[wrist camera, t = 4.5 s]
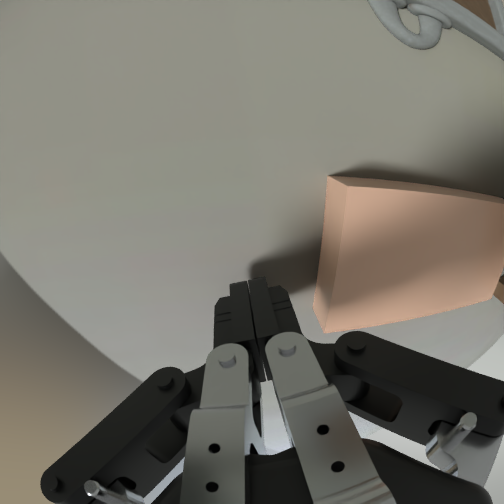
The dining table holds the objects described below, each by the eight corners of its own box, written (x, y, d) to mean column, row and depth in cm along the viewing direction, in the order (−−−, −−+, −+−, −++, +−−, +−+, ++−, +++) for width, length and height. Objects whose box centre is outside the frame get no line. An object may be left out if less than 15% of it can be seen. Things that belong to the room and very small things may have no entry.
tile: (495, 195, 12) (520, 207, 10) (471, 281, 15) (491, 298, 13) (324, 173, 11) (347, 186, 9) (310, 302, 14) (324, 333, 12)
